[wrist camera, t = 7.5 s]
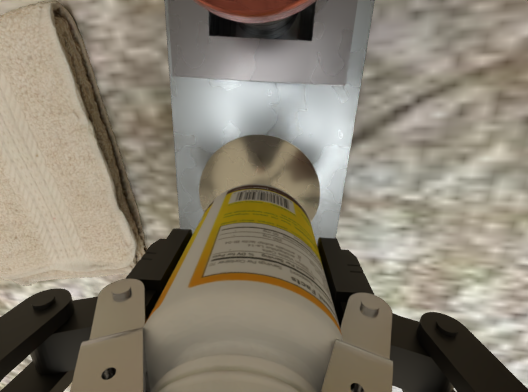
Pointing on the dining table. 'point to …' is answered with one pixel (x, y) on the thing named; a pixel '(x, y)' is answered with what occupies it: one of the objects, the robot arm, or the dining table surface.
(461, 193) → the dining table surface
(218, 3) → the pin
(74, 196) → the washcloth
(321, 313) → the supplement bottle
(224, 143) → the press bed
